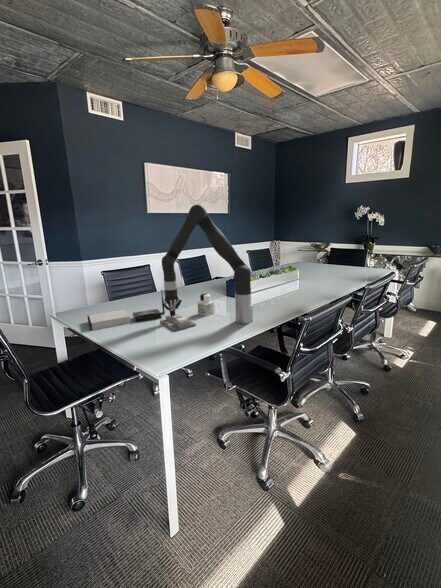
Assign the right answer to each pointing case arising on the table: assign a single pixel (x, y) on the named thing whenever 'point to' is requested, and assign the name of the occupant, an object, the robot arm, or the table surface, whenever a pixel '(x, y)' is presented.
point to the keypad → (176, 324)
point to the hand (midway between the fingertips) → (172, 316)
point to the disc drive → (108, 319)
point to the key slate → (176, 317)
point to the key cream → (181, 320)
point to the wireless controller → (148, 314)
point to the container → (205, 305)
